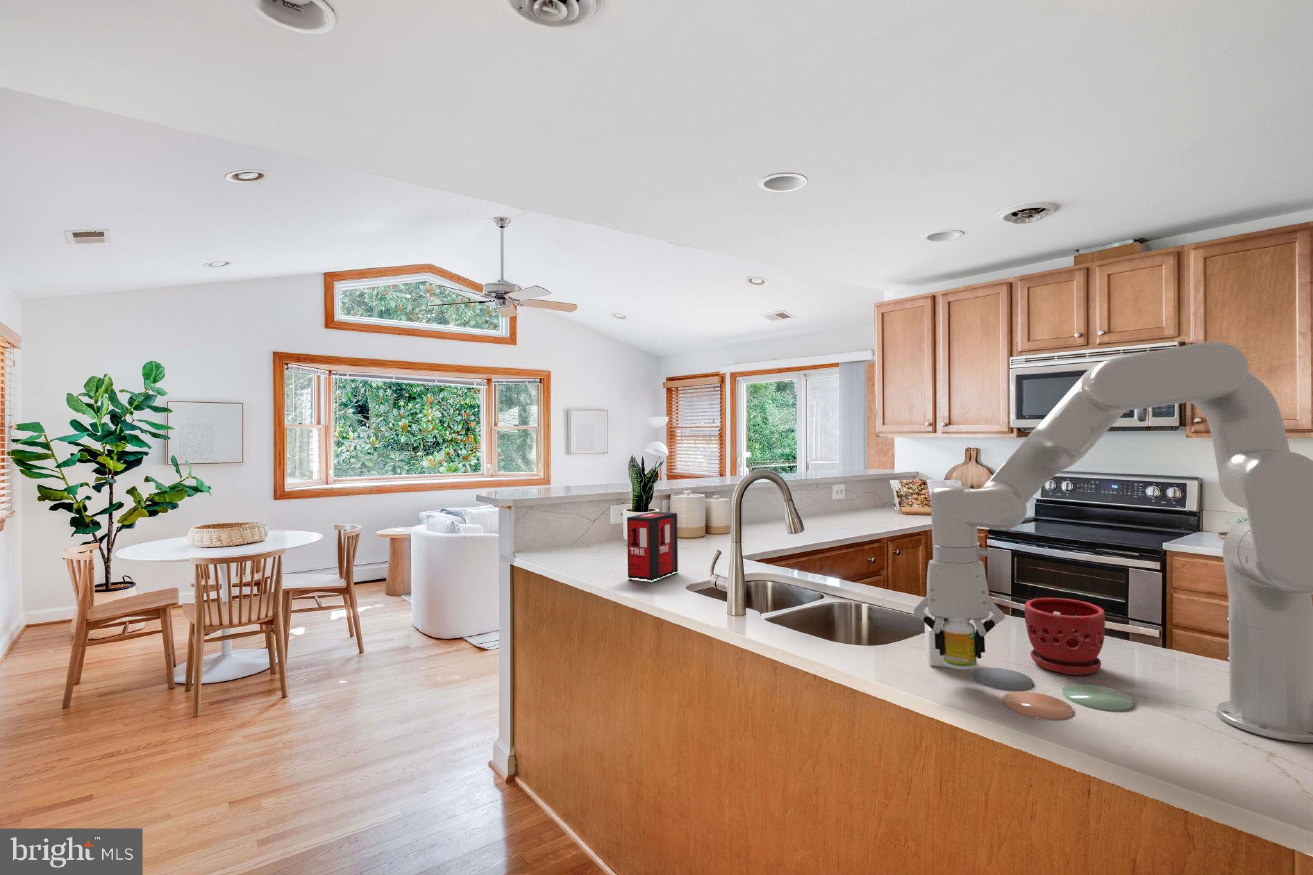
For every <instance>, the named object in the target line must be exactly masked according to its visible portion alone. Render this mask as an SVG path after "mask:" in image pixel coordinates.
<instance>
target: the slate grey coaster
mask: <svg viewBox="0 0 1313 875" xmlns="http://www.w3.org/2000/svg"><path fill="white" fill-rule="evenodd" d="M971 678H972V679H973V680H974V681H975V682H977V683H978V684H979V685H983V686H986V687H989V688H993V689H998V690H1005V691H1025V690H1029V689H1031V688H1032V687H1033V686H1034V680H1033V679H1032V678H1031V677H1030V676H1028V675H1026V674H1025V673H1022V672H1019V671H1016V670H1012V669H1007V668H1002V667H1001V668H1000V667H982V668H981V667H979V668H976V669H973V670H972V671H971Z"/></svg>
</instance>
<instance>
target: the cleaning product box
mask: <svg viewBox="0 0 1313 875" xmlns="http://www.w3.org/2000/svg"><path fill="white" fill-rule="evenodd" d="M626 522H627V523H626V527H627V528H626V530H627V534H626V536H627V537H626V538H627V541H626V542H627V543H626V544H627V578H628V577H629V578H639V579H647V580H651V581H652V580H654V579H657V578H661V577H663V576H666V575H668V574H672V573H673V572H677V571H678V572H679V559H678V556H679V555H678V552H679V551H678V548H679V547H678V513H677V512H663V511H651V512H646V513H642V514H637V515H631V516H628V517H626Z"/></svg>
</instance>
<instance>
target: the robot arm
mask: <svg viewBox="0 0 1313 875" xmlns="http://www.w3.org/2000/svg"><path fill="white" fill-rule="evenodd" d="M1249 365H1250V364H1249V360H1248V358H1247V357H1246V355H1245V353H1244V352H1243V351H1241V349H1240V348H1238V347H1236V346H1234V345H1233V344H1230V343H1226V342H1223V341H1203V342H1198V343H1192V344H1188V345H1182V346H1177V347H1172V348H1167V349H1161V350H1155V351H1150V352H1145V353H1138V354H1131V355H1124V356H1119V357H1114V358H1113V357H1112V358H1109V359H1105V360H1104V361H1101V362H1100V363H1097V364H1095V365H1093V366H1092V367H1091V368H1089V369H1087V371H1086V372H1084V373H1083V375H1081V377H1080V378H1079V379H1078V380H1077V381H1076V382H1075V384H1073V385H1072V387H1071V388H1070V389H1069V390H1068V391H1067V392H1066V393H1065V395H1064V396H1063V397H1062V398H1061V399H1060V400H1059V401H1058V402H1057V404H1056V405H1055V406H1054V407H1053V408H1052V409H1051V410H1050V411H1049V412H1048V414H1047V415H1046V416H1045V417H1044V418H1042V420H1041V421H1040V422H1039V423H1038V424H1037V425H1036V427H1035V428H1034V429H1033V430H1032V431H1031V432H1030V433H1029V435H1028V436H1027V437H1026V438H1025V439H1024V441H1023V442H1022V443H1021V444H1020V446H1019V447H1017V449H1015V451H1014V452H1013V453H1012V454H1011V455H1010V456H1009V458H1007V460H1005V461H1004V463H1003V464H1002V465H1001V466H1000V467H999V468H998V469H997V470H996V472H995V473H994V474H993V475H991V477H990V478H989V479H988V480H987V482H985V483H984V485H983V486H982V487H981V488H972V487H969V486H961V485H945V486H944V485H943V486H937V487H934V488H933V489H932V490H931V493H930V515H931V539H932V540H931V541H932V557H933V558H932V559H930V560H928V563H927V564H928V565H927V573H926V595H925V597H924V598H923V599H922V600H921V601H920V602H919V603H918V604H917V605H916V606H915V607H914V609H913V614H915V616H916V617H918V619H920V620H922V622H924V624H925V623H926V624H927V625H928V626H929V627H930V628H931V629H932V630H933V632H934V633H935V649H939V652H940V656H943V655H944V641H943V630H942V628H941V626H942V623H943V620H944V618H964V619H970V621H971V620H973V622H974V626H975V638H976V659H981V660H982V653H984V654H985V653H986V644H985V641H986V640H985V636H986V635H987V634H988V633H989V632H990V631H991V630H992V629H994V628H995V627H996V625H998V624H999V623H1001V622H1002V621H1003V620H1005V618H1006V615H1005V613H1004V612H1003V611H1002V610H1001V609H1000V608H999V607H998V606H997V605H996V604H995V603H994V602H993V601H992V600H991V599H990V597H989V588H988V580H987V576H986V569H985V565H984V562H983V561H981V560H980V559H981V558H983V557H988V548H983V547H980V546H979V536H978V527H979V528H985V529H986V528H987V529H992V530H993V529H994V530H1003V531H1005V530H1010V529H1014V528H1017V527H1018V526H1019V525H1020V524H1022V523H1023V522H1024V520H1025V518H1026V517H1027V511H1028V507H1027V506H1028V505H1027V504H1028V502H1030V500H1031V499H1032V498H1033V497H1035V495H1036V494H1037V493H1039V492H1038V491H1040V490H1041V488H1043V487H1044V485H1046V484H1047V483H1048V482H1049V481H1050V480H1052V479H1053V478H1054V477H1055V476H1057V475H1058V474H1059V473H1061V472H1063V471H1065V470H1067V469H1069V468H1071V467H1072V466H1074V465H1076V464H1077V463H1078V462H1079V461H1080V460H1082V459H1083V457H1085V455H1086V454H1088V452H1089V451H1090V450H1091V449H1092V448H1093V447H1094V446H1095V445H1096V443H1097V442H1098V441H1099V440H1100V439H1102V437H1103V436H1104V435H1105V434H1106V433H1107V431H1109V429H1110V428H1111V427H1112V426H1113V425H1114V424H1116V422H1117V421H1118V420H1119V419H1120V418H1121V417H1122V416H1123V415H1124V414H1125V413H1126V412H1127V411H1132V410H1133V411H1134V410H1142V409H1144V410H1145V409H1151V408H1156V407H1157V408H1159V407H1166V406H1172V405H1178V404H1179V405H1180V404H1185V403H1191V404H1192V405H1194V406H1195V407H1196V408H1197V409H1198V410H1199V411H1200V412H1201V413H1202V414H1203V416H1204V418H1205V419H1206V421H1207V424H1208V428H1209V432H1210V435H1211V438H1212V444H1213V449H1214V456H1215V457H1214V458H1215V462H1216V467H1217V473H1218V474H1217V475H1218V482H1219V487H1220V490H1221V492H1222V494H1223V497H1225V498H1226V499H1227V500H1228V501H1229V502H1230V503H1232V504H1234V505H1235V506H1238V507H1240V508H1243V509H1245V510H1246V513H1247V518H1248V519H1246V520H1244V521H1241V522H1239V523H1237V524H1235V525H1234V526H1233V527H1232V528H1230V530H1229V531H1228V532H1227V533H1226V536H1225V537H1224V539H1223V546H1222V559H1223V560H1222V561H1223V567H1224V572H1225V579H1226V585H1227V598H1228V600H1227V601H1228V658H1229V659H1228V661H1229V662H1228V664H1229V665H1228V669H1229V671H1228V672H1229V675H1228V676H1229V680H1228V681H1229V700H1227V701H1223V702H1220V703H1217V705H1216V714H1217V716H1218V717H1219V718H1220V719H1222V721H1224V722H1226V723H1227V724H1229V725H1231V726H1233V727H1236V728H1238V729H1241V730H1244V731H1247V732H1249V733H1251V734H1256V735H1259V736H1263V737H1266V738H1271V739H1275V740H1281V741H1286V742H1294V743H1295V742H1296V743H1306V744H1307V743H1308V744H1309V743H1310V744H1312V743H1313V599H1312V595H1313V459H1311V458H1309V457H1308V456H1306V455H1303V454H1301V453H1298V452H1294V451H1291V449H1290V448H1291V447H1290V444H1289V442H1288V436H1287V433H1286V429H1285V426H1284V421H1283V416H1282V414H1281V409H1280V408H1279V405H1278V402H1277V400H1276V398H1275V397H1274V394H1273V393H1272V392H1271V391H1270V389H1269V388H1268V387H1267V386H1266V385H1265V384H1264V382H1262V381H1261V380H1260V379H1258V378H1257V377H1256V376H1255V375H1254V374H1252V372H1250V366H1249ZM926 609H927V610H928V614H929V613H930V614H931V615H932V616H934V617H935V619H934V620H933V619H932V618H931V617H930V614H929V615H928V614H927V613H926V612H925V610H926ZM990 612H991V613H992V614H993V615H992V616H991V617H989V616H990ZM985 619H986V620H985ZM982 620H985V621H984V622H983V621H982Z"/></svg>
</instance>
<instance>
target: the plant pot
mask: <svg viewBox="0 0 1313 875" xmlns="http://www.w3.org/2000/svg"><path fill="white" fill-rule="evenodd" d="M1054 612H1059V614H1058V613H1057V614H1056V613H1054ZM1077 614H1079V615H1077ZM1105 614H1106V613H1105V610H1104V609H1103V608H1101V607H1100V606H1097V605H1095V604H1092V603H1090V602H1086V601H1082V600H1081V601H1080V600H1078V599H1072V598H1071V599H1070V598H1061V597H1060V598H1059V597H1039V598H1033V599H1030V600H1027V601H1026V602H1025V603H1024V617H1025V618H1024V620H1025V627H1026V632H1027V636H1028V639H1029V642H1030V644H1031V646H1032V648H1033V649H1032V650H1030V652H1029V654H1030V658H1031V659H1032V660H1033V662H1034V663H1036V664H1037V665H1038V666H1040V667H1042V668H1044V669H1047V670H1048V671H1049V670H1050V671H1053V672H1055V673H1061V674H1065V675H1075V676H1076V675H1079V676H1080V675H1082V676H1083V675H1091V674H1093V673H1095V672H1097V671H1098V670H1100V669H1101V666H1102V661H1101V659H1100V658H1099V657H1098V656H1099V655H1100V653H1101V651H1102V648H1103V646H1104V641H1105V634H1106V633H1105V631H1106V630H1105V629H1106V616H1105Z"/></svg>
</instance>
